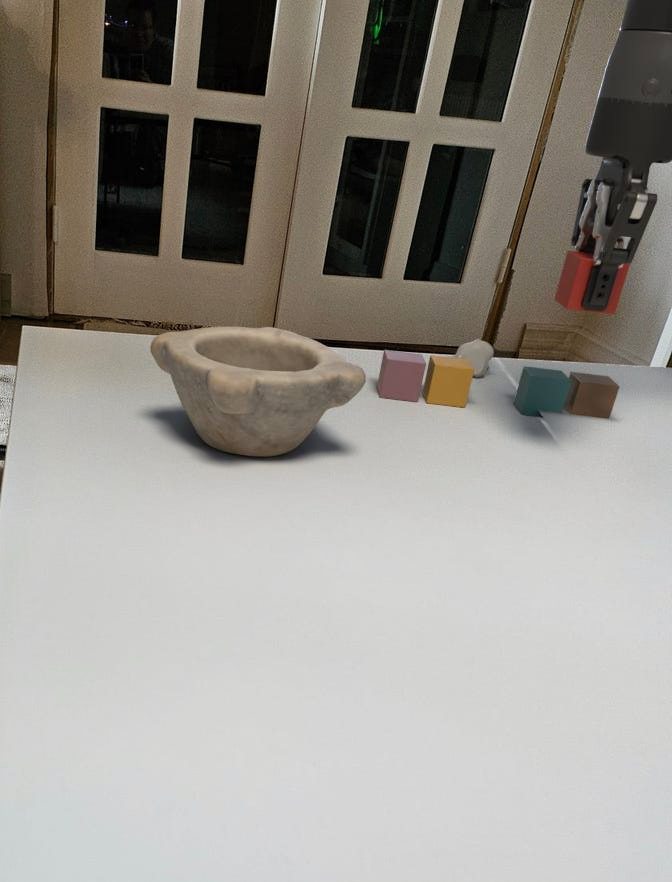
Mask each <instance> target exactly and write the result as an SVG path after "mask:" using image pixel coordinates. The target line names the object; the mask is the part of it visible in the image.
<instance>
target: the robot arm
mask: <svg viewBox="0 0 672 882" xmlns="http://www.w3.org/2000/svg"><path fill="white" fill-rule="evenodd" d="M611 49H612V50H611V52H610V55H609V57H608V60H607V64H606V66H605V70H604V73H603V77H602V81H601V84H600V88H599V91H598V95H597V99H596V103H595V107H594V110H593V113H592V118H591V122H590V125H589V129H588V133H587V136H586V141H585V144H584V152H585V154H586V155H589V156H593V157H598V158H599V157H600V158H602V161H601V163H600V165H599V168H598V170H597V172H596V174H595V177H594V178H585V179H584V180H583V182H582V184H581V191H580V195H579V200H578V205H577V211H576V217H575V219H574V226H573V230H572V236H571V239H570V241H571V242H570V244H571V246H572V247H574V250H573V251H576V252H585V253H594V257H593V266H592V267H591V271H590V274H589V277H588V281H587V284H586V288H585V291H584V295H583V298H582V302H581V306H582V307H583V308H584V309H586V310H593V311H603V310H605V309H606V308H607V305H608V302H609V298H610V295H611V292H612V288H613V285H614V282H615V279H616V275H617V272H618V269H617V268H619V269H621V268H622V267H623V265H624V264H630V265H631V264H632V262H633V261H634V258H635V255H636V252H637V250H638V248H639V246H640V243H641V241H642V238H643V236H644V233H645V231H646V230H647V227H648V224H649V222H650V219H651V217H652V215H653V212H654V210H655V207H656V204H657V203H658V194H657V193H651V192H648V189H649V188H648V182H649V175H650V168H651V166H652V165H653V164H669V163H671V162H672V0H626V4H625V8H624V11H623V15H622V19H621V22H620V26H619V31H618V32H617V36H616V39H615V42H614V45H613V47H612V48H611ZM616 244H617V247H615V246H616Z"/></svg>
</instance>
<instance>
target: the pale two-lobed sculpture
mask: <svg viewBox="0 0 672 882" xmlns="http://www.w3.org/2000/svg"><path fill="white" fill-rule="evenodd" d="M494 352H495V351H494V348H493V346H492V345H491V344H490V343H489V342H487V341H484V340H481V339H479V338H476V339H474V340H472V341H469V342H465V343H463V344H461V345H460V346H458V348H457V350H456V353H455V354H454V355H453V356H452V358H459V359H467V360H469V362H470V363H471V365H472V367H473V368H474V373H473V377H472V378H480V377H482V376H483V375H484V374H485V373H486V372H487V370H488V367H489V364H490V361H491V360H492V358H493V356H494ZM458 356H461V357H458Z"/></svg>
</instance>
